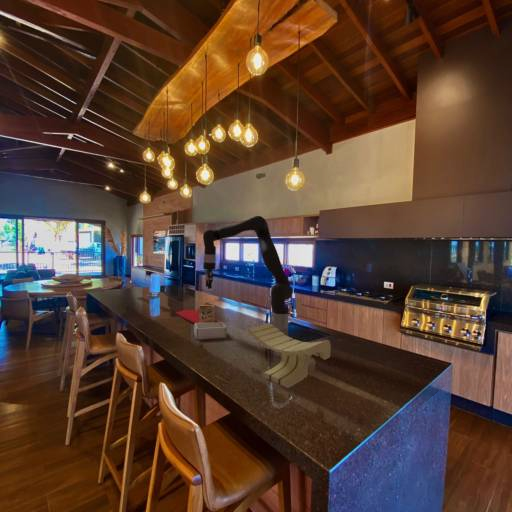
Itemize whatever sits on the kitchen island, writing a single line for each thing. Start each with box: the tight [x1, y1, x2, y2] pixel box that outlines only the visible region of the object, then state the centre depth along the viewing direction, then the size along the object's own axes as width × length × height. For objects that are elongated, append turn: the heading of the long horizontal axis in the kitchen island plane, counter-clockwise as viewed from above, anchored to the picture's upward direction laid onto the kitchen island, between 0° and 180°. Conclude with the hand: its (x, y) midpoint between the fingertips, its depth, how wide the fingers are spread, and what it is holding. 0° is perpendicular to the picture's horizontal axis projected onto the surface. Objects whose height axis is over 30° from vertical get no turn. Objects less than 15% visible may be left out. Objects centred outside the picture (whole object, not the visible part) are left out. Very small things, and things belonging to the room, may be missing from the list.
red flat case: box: [175, 309, 220, 324], centre depth 195 cm, size 16×41×4 cm, turn 38°
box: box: [193, 321, 228, 341], centre depth 161 cm, size 12×17×6 cm
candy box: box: [199, 304, 216, 323], centre depth 173 cm, size 9×4×15 cm, turn 92°
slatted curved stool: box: [248, 323, 332, 389], centre depth 114 cm, size 30×16×18 cm, turn 47°
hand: (208, 287), depth 172 cm, fingers open, 8 cm apart
